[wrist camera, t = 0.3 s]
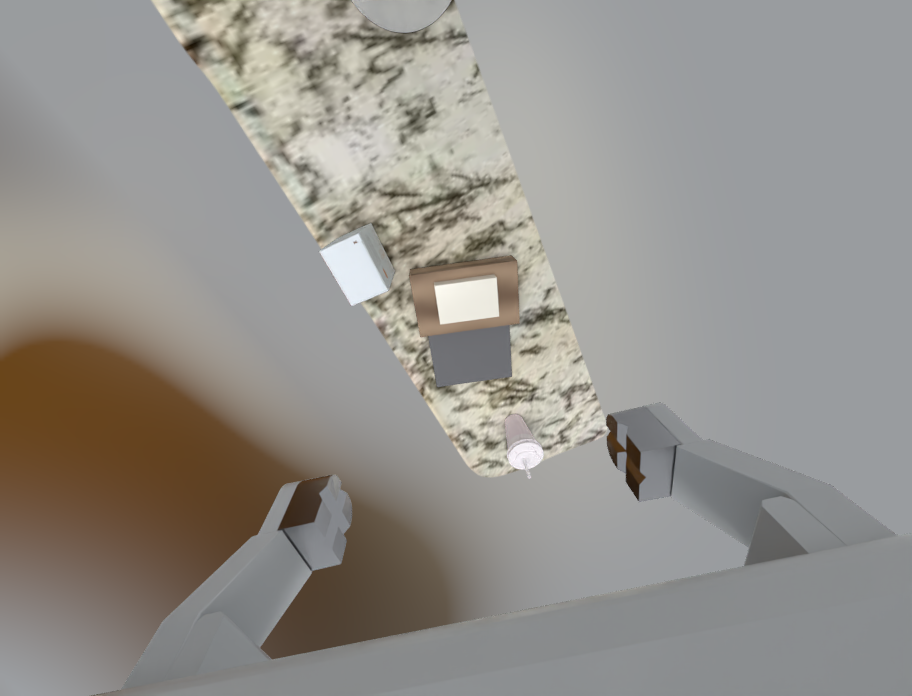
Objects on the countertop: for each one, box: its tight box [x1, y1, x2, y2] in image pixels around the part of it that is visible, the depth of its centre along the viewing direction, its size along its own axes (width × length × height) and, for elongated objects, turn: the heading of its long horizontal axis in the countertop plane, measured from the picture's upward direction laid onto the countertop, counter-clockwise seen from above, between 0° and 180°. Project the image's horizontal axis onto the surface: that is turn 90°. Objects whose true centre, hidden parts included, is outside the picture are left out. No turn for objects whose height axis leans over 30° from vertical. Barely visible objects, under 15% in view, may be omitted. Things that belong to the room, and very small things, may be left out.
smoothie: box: [505, 414, 543, 479], centre depth 61 cm, size 6×6×14 cm
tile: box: [434, 274, 499, 325], centre depth 50 cm, size 6×9×2 cm, turn 97°
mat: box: [428, 325, 512, 387], centre depth 60 cm, size 12×14×1 cm
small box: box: [319, 223, 395, 306], centre depth 46 cm, size 8×6×10 cm
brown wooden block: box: [409, 256, 520, 337], centre depth 53 cm, size 10×16×4 cm, turn 97°
